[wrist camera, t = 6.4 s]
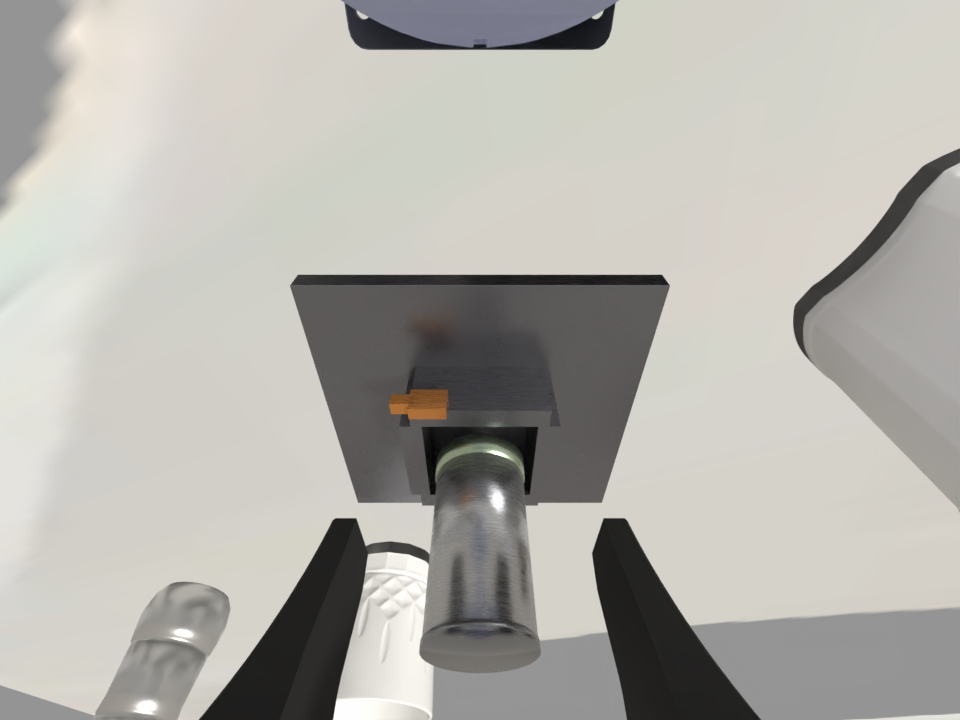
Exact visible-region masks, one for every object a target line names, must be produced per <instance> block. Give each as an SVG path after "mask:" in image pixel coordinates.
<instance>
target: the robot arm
mask: <svg viewBox="0 0 960 720" xmlns="http://www.w3.org/2000/svg"><path fill="white" fill-rule="evenodd" d="M341 1H343V2H344V4H345V11H346V17H347V24H348V30H349V33H350V36H351V38H352V40H353V41H354V43H355V44H356V45H357V46H359V47H360V48H362V49H366V50H594V49H598V48H600V47H601V46H603V45H604V44H605V43H606V41H607V40H608V38H609V36H610V33H611V30H612V24H613V17H614V11H615V4H616V2H617V1H619V0H341ZM356 10H357V11H359V12H360V13H362V14H364V15H366V16H368V18H367V19H362V18H361V17H360V16H359V15H358V14H357V11H356ZM603 10H604V11H603ZM601 11H603V14H602V15H601V16H600V17H599V18H598V19H593V18H592V17H593V16H594V15H596V14H598V13H600V12H601ZM367 557H368V551H367V548H366V545H365V542H364V539H363V536H362V533H361V530H360V527H359V524H358V521H357V518H335V519H334V520H332V522H331V524H330V526H329V528H328V530H327V532H326V534H325V536H324V538H323V540H322V542H321V543H320V545H319V547H318V549H317V551H316V552H315V554H314V556H313V558H312V559H311V561H310V563H309V565H308V566H307V568H306V570H305V572H304V573H303V575H302V576H301V578H300V580H299V581H298V583H297V585H296V586H295V588H294V589H293V591H292V593H291V594H290V596H289V598H288V599H287V601H286V602H285V604H284V605H283V607H282V608H281V610H280V611H279V613H278V614H277V616H276V617H275V619H274V620H273V622H272V623H271V625H270V626H269V628H268V629H267V631H266V632H265V634H264V635H263V637H262V638H261V639H260V641H259V642H258V644H257V645H256V646H255V648H254V649H253V651H252V652H251V653H250V655H249V656H248V658H247V659H246V660H245V662H244V663H243V664H242V666H241V667H240V668H239V670H238V671H237V672H236V674H235V675H234V676H233V678H232V679H231V680H230V681H229V683H228V684H227V685H226V686H225V688H224V689H223V690H222V691H221V693H220V694H219V695H218V696H217V698H216V699H215V700H214V701H213V703H212V704H211V705H210V706H209V708H208V709H207V710H206V711H205V713H204V714H203V715H202V716H201V717H200V719H199V720H333V717H334V711H335V705H336V699H337V694H338V689H339V685H340V680H341V675H342V671H343V668H344V664H345V660H346V656H347V652H348V648H349V644H350V640H351V636H352V632H353V628H354V624H355V620H356V616H357V612H358V608H359V604H360V600H361V595H362V591H363V585H364V579H365V572H366V565H367ZM592 557H593V565H594V572H595V579H596V585H597V591H598V595H599V600H600V604H601V608H602V612H603V616H604V620H605V624H606V628H607V632H608V636H609V640H610V644H611V648H612V652H613V656H614V660H615V664H616V668H617V671H618V675H619V680H620V685H621V689H622V694H623V699H624V705H625V711H626V717H627V720H761V719H760V718H759V716H758V715H757V714H756V713H755V712H754V711H753V709H752V708H751V707H750V706H749V704H748V703H747V702H746V701H745V699H744V698H743V697H742V696H741V694H740V693H739V692H738V691H737V689H736V688H735V687H734V685H733V684H732V683H731V682H730V680H729V679H728V678H727V676H726V675H725V674H724V672H723V671H722V670H721V668H720V667H719V666H718V665H717V663H716V662H715V661H714V659H713V658H712V656H711V655H710V654H709V652H708V651H707V650H706V648H705V647H704V645H703V644H702V643H701V641H700V640H699V638H698V637H697V635H696V634H695V632H694V631H693V630H692V628H691V627H690V625H689V624H688V622H687V621H686V619H685V618H684V616H683V615H682V613H681V612H680V610H679V609H678V607H677V606H676V604H675V602H674V601H673V599H672V598H671V596H670V594H669V593H668V591H667V590H666V588H665V587H664V585H663V583H662V582H661V580H660V578H659V577H658V575H657V573H656V572H655V570H654V568H653V567H652V565H651V563H650V561H649V560H648V558H647V556H646V554H645V553H644V551H643V549H642V547H641V545H640V544H639V542H638V540H637V538H636V536H635V534H634V532H633V531H632V529H631V527H630V525H629V523H628V521H627V520H626V519H625V518H603V521H602V524H601V527H600V530H599V533H598V536H597V539H596V542H595V545H594V548H593V551H592Z"/></svg>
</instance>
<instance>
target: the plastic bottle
mask: <svg viewBox="0 0 960 720" xmlns="http://www.w3.org/2000/svg"><path fill="white" fill-rule="evenodd" d="M230 610H231V609H230V603H229V598H228V596H227V595H226V594H225V593H224V592H222V591H220V590H219V589H216V588H214V587H212V586H209V585H205V584H201V583H195V582H175V583H172V584H169V585H168V586H166V587H165V588H163V589H162V590H160V591H159V592H158V593H156V595H155V596H154V597H153V599H152V600H151V601H150V602H149V604H148V605H147V606H146V608H145V609H144V610H143V612H142V614H141V617H140V619H139V621H138V623H137V626H136V628H135V630H134V633H133V636H132V639H131V645H130V646H129V648H128V650H127V652H126V654H125V656H124V658H123V660H122V662H121V664H120V666H119V669H118V671H117V673H116V675H115V677H114V679H113V681H112V683H111V685H110V687H109V689H108V691H107V693H106V695H105V697H104V699H103V700H102V702H101V704H100V705H99V707H98V709H97V710H96V712H95V713H96V714H95V716H94V717H93V719H92V720H178V717H179V715H180V712H181V710H182V707H183V705H184V703H185V701H186V699H187V697H188V695H189V693H190V691H191V689H192V687H193V685H194V683H195V682H196V680H197V678H198V676H199V674H200V672H201V670H202V668H203V666H204V664H205V662H206V659H207V657H209V656H210V654H211V653H212V651H213V650H214V648H215V647H216V645H217V643H218V641H219V639H220V638H221V636H222V634H223V632H224V630H225V628H226V625H227V621H228V617H229V613H230Z"/></svg>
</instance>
